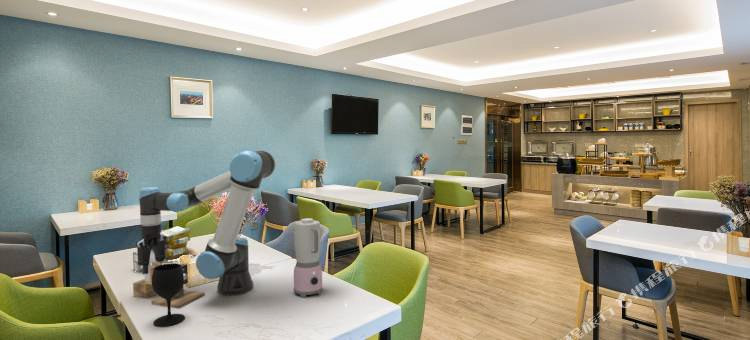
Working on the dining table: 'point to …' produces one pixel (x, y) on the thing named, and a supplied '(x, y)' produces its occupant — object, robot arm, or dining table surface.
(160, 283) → the wine glass
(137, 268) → the toy llama
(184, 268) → the eye post
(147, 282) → the hook
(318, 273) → the blender
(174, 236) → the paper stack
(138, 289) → the rest block
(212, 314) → the dining table surface
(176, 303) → the base board
